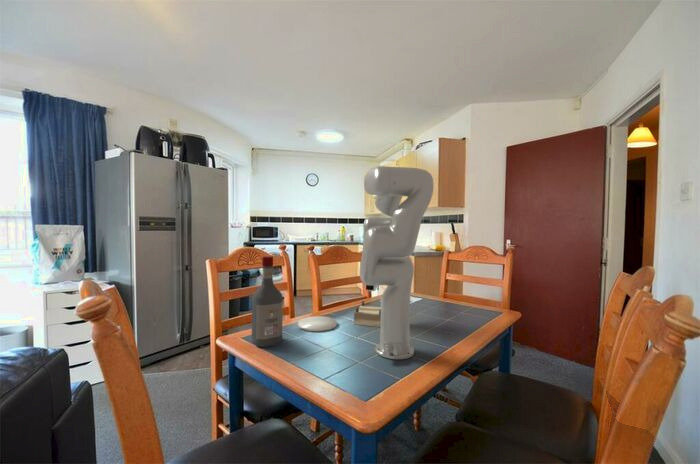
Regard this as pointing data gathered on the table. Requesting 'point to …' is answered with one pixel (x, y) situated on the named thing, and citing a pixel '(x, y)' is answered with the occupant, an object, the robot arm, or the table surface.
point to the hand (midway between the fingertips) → (371, 287)
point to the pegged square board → (367, 315)
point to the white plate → (317, 323)
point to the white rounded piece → (374, 288)
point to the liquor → (267, 309)
